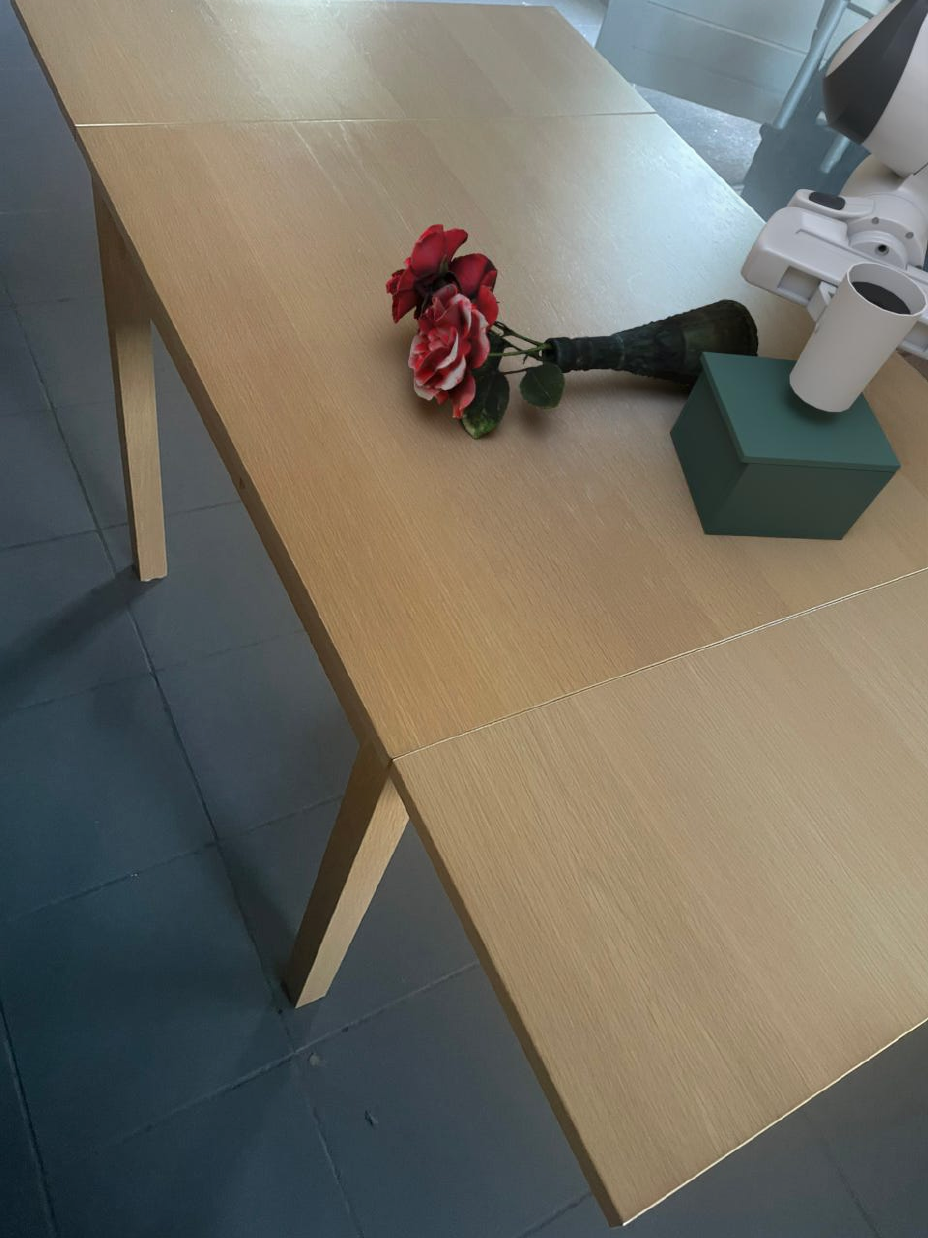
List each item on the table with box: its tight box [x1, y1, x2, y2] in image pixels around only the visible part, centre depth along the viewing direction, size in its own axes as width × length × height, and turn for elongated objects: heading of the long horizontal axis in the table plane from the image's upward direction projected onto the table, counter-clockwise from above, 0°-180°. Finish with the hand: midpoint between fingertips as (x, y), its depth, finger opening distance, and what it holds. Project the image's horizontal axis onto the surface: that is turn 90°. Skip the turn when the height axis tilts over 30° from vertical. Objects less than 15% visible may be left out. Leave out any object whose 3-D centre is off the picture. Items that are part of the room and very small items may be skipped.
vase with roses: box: [385, 223, 760, 439], centre depth 87 cm, size 16×18×35 cm
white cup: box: [790, 262, 928, 412], centre depth 75 cm, size 7×7×10 cm
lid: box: [700, 352, 902, 473], centre depth 80 cm, size 15×13×1 cm
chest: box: [669, 368, 897, 541], centre depth 84 cm, size 14×13×9 cm
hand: (849, 338), depth 74 cm, fingers closed on white cup, 2 cm apart
